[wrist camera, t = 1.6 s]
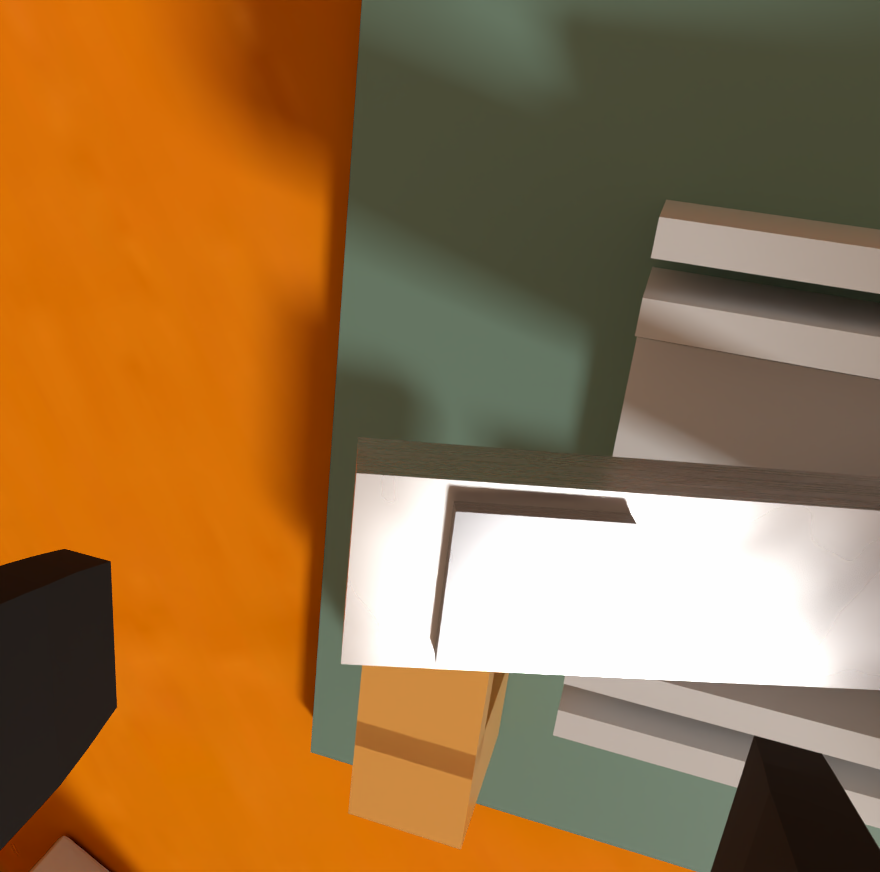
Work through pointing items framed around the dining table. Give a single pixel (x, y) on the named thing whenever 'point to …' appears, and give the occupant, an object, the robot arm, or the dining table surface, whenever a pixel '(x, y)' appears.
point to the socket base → (616, 331)
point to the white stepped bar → (611, 567)
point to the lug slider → (424, 747)
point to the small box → (67, 859)
